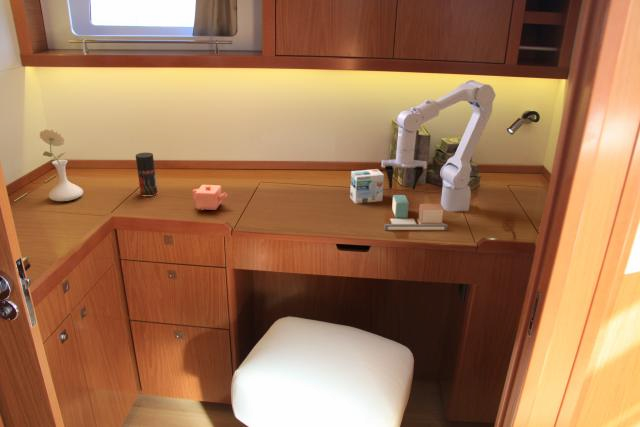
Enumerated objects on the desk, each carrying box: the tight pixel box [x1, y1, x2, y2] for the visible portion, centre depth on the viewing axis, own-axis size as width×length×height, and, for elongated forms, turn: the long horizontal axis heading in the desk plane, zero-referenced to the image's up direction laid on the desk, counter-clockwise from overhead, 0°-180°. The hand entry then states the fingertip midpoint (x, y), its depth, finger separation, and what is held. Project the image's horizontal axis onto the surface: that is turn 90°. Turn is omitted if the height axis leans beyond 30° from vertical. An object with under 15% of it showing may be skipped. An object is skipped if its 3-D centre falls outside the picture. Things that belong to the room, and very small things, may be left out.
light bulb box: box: [349, 168, 385, 205], centre depth 186 cm, size 11×7×11 cm, turn 105°
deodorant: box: [135, 152, 158, 196], centre depth 188 cm, size 6×6×15 cm
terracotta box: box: [417, 203, 445, 224], centre depth 169 cm, size 7×4×6 cm, turn 92°
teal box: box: [391, 194, 410, 219], centre depth 175 cm, size 7×4×6 cm, turn 2°
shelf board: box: [383, 218, 449, 231], centre depth 172 cm, size 20×17×2 cm
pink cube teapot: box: [191, 184, 228, 211], centre depth 179 cm, size 8×12×8 cm, turn 85°
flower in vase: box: [39, 129, 84, 202], centre depth 182 cm, size 13×11×25 cm
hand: (401, 187), depth 172 cm, fingers open, 7 cm apart
